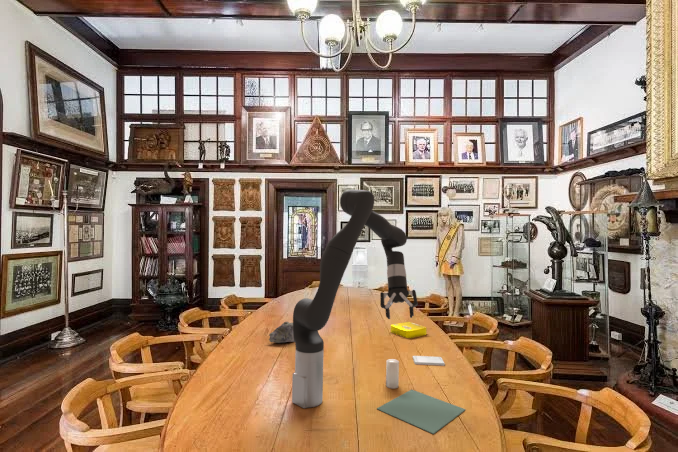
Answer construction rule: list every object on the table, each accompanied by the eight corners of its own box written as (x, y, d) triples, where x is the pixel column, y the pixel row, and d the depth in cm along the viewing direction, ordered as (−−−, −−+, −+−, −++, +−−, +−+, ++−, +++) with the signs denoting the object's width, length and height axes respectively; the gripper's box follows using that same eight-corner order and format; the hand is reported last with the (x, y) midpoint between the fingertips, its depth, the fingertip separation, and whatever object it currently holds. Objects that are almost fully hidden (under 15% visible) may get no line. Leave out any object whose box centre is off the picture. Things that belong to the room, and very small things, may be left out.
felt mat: (433, 434, 105) (433, 433, 105) (376, 409, 119) (376, 408, 119) (465, 410, 119) (465, 409, 119) (411, 390, 133) (411, 389, 133)
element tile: (428, 335, 204) (428, 326, 204) (408, 339, 195) (408, 330, 195) (408, 328, 216) (408, 320, 216) (388, 332, 208) (389, 323, 208)
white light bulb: (393, 389, 133) (394, 364, 133) (383, 385, 136) (383, 361, 136) (400, 386, 137) (401, 361, 137) (390, 382, 140) (391, 358, 140)
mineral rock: (268, 345, 180) (268, 324, 180) (271, 338, 191) (271, 318, 191) (295, 345, 181) (295, 324, 181) (296, 338, 191) (297, 319, 191)
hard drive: (440, 356, 166) (412, 355, 167) (444, 363, 158) (414, 361, 159) (440, 360, 166) (412, 358, 167) (444, 367, 158) (414, 365, 159)
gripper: (377, 276, 149) (380, 317, 142) (413, 273, 146) (418, 315, 139) (380, 281, 156) (383, 320, 149) (415, 278, 152) (419, 318, 146)
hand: (400, 318), depth 144 cm, fingers open, 8 cm apart
